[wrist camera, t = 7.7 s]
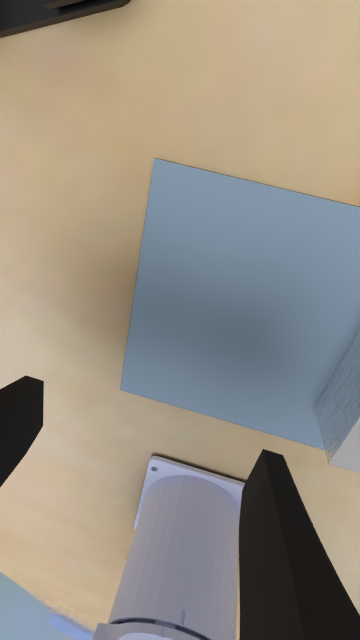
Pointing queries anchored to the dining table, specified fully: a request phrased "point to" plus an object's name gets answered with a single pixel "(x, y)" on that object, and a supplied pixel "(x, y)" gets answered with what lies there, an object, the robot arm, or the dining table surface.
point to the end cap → (47, 12)
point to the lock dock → (242, 300)
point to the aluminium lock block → (342, 410)
